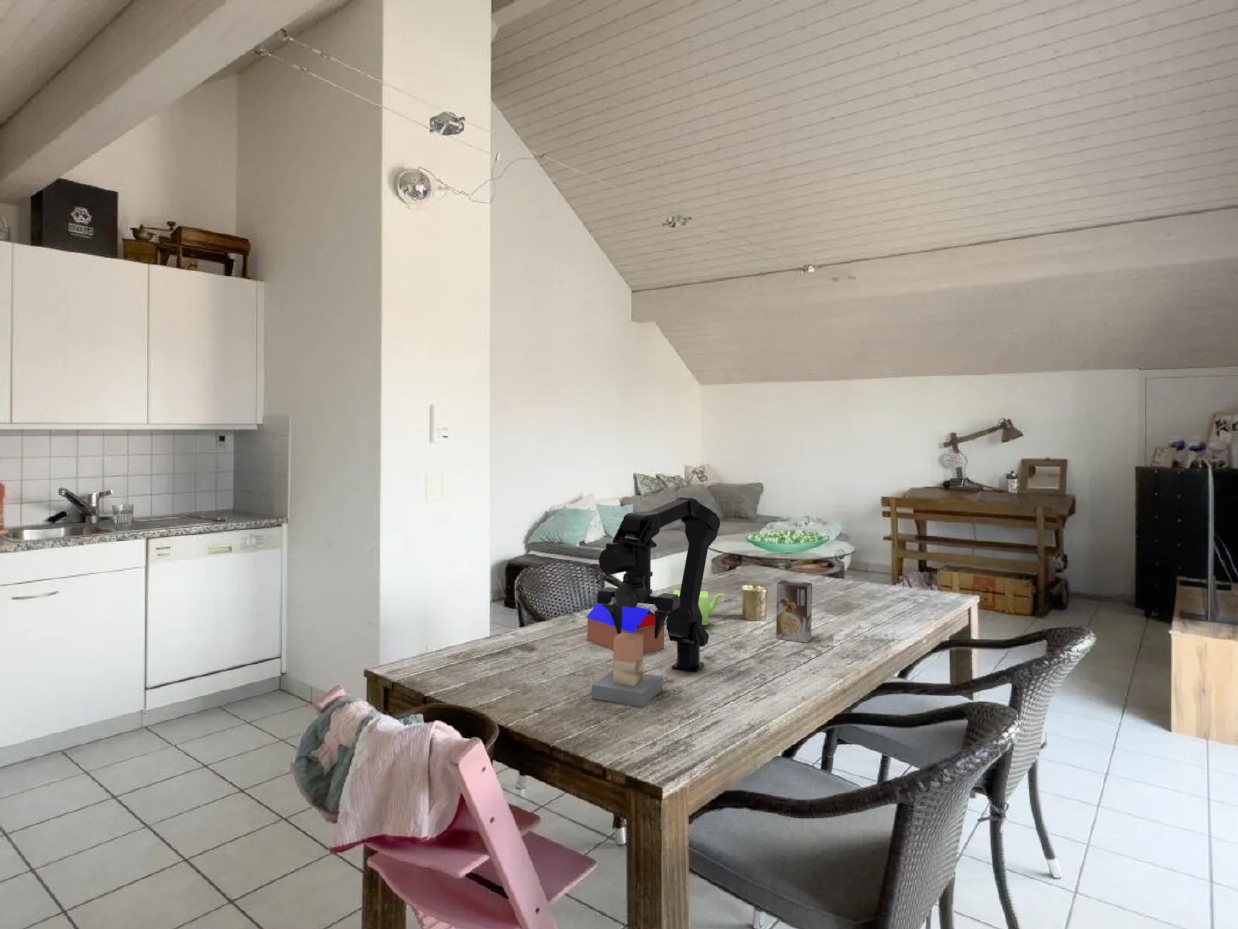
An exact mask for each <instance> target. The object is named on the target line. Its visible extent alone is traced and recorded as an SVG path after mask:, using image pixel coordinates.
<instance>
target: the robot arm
mask: <svg viewBox="0 0 1238 929" xmlns="http://www.w3.org/2000/svg"><path fill="white" fill-rule="evenodd" d="M679 520H680V522H681V523H683V524H684V534H685V538H686V540H687V542H688V546H687V551H686V557H685V562H684V569H683V575H682V580H681V584H680V585H681V586H680V589H679V590H680V595H679V596H678V594H673V593H667V592H663V593H661V594H660V595H658V596H656V595H652V594H653V588H651V587H652V586H651V585H652V584H651V579H652V577H653V571H651V570H652V569H651V566H652V564H651V563H652V562H651V561H652V558H651V557H652V549H653V548H656V547H657V546H658V545H657V543H656V542H655V541H654V540H653V538H655V537H656V536H657V535H658V534H659V533H660V531H661V529H662V528H664V527H665V526H667V525H669V524H672V523H674V522H677V521H679ZM720 526H721V519H720V518H719V516H718V515H717V513H716V512H714V511H713V510H712V509H710V508H708V507H707V506H705V505H703V504H701V503H700V502H699V500H697V499H696V498H694V497H686V496H680V497H678V498H676V499H675V500H671V502H668V503H665V504H663V505H660V506H658V507H656V508H654V509H651V510H648V511H647V510H646V511H633V512H628V513H626V514H625V515H624V516H623V519H622V521H621V523H620V525H619V527H618V529H617V530H616V533H615V535H614V537H613V539H612V542H607V543H605V549H603V550H602V551H601V553H600V555H599V557H598V564H599V568H600V570H601V571H602V572H603V573H604V574H605V575H609V576H610V575H616V574H619V573H623V577H622V582H621V584H619V586H618V587H611V586H607V587H605V588H602V589H600V590H598V592H597V593H596V596H595V597H596V601H595V602H596V604H597V603H601V604H602V607H605V608H606V609H607V610H608V611H609V612H610V614H611V616H612V619H613V622H614V624H615V627H616V630H617V633H618V634H620V633H621V629H622V606H624V607H629V608H634V607H636V606H637V607H638V604H644V605H655V608H656V609H655V610H653V613H654V614H655V617H656V618H655V631H654V635H655V639H657V638H658V636H659V634H660V631H661V629H662V626H663V624H665V623H666V630H667V634H668V639H669V641H670V642H675V643H676V662H675V663H673V665H671V668H672V669H677V670H683V671H688V672H689V671H690V672H698V671H699V670H700V669H702V667H703V666H704V665H705V662H703V661H700V660H701V659H700V656H701V647H706V645H708V643H709V638H710V635H709V633H708V632H707V630H706V629H705V627H704V625H702V614H701V611H700V608H699V605H698V603H699V597H700V591H702V584H703V580H704V574H705V567H706V562H707V557H708V550H709V548H710V546H711V545H712V544H713V542H714V541H715V540H716V539H717V537H718V533H719V530H720Z"/></svg>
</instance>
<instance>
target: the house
mask: <svg viewBox="0 0 1238 929" xmlns="http://www.w3.org/2000/svg"><path fill="white" fill-rule="evenodd" d="M586 618H587V632H586V633H587V638H586V639H587V640H586V641H588V642H592V643H595V644H597V645H600V646H604V647H606V648H609V649H611V650H614V637H616V636H617V635H619V634H618V633H617V630H616V627H615V624H614V622H613V619H612V616H611V614H610V612H609V611H608V610H607V609H606V608H605V607H602V604H601V603H597V602H596V604H595V605H594V607H593V608H591V610H590V612H588V614H587V616H586ZM655 618H656V617H655V613H654V611H652V610H650V609H647V608H644V607H640V606H638V605H637V606H636V607H634V608H629V607H624V606H622V629H621V633H622V632H625V633H633V634H640V635H643V655H644V654H648V653H651V652H655V651H660V650H664V649H665V626H666V624H665V623H664V624H663V626H662V629H661V631H660V634H659V636H658V638H657V639H655V635H654V631H655ZM621 633H620V634H621Z"/></svg>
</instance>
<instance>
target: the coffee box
mask: <svg viewBox="0 0 1238 929" xmlns="http://www.w3.org/2000/svg"><path fill="white" fill-rule="evenodd" d="M812 592H813V583H812V582H804V581H796V580H786V579H781V580H779V581H778V583H777V584H776V613H775V614H776V618H775V619H776V623H775V624H776V625H775V626H776V627H775V629H776V630H775V631H776V635H775V636H776V637H775V639H777V640H783V641H793V642H799V643H806V644H807V643H809V641H810V640H811V639H812V622H813V621H812V619H813V618H812V614H813V613H812V611H813V610H812V608H813V607H812V606H813V604H812V602H813V593H812Z"/></svg>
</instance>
